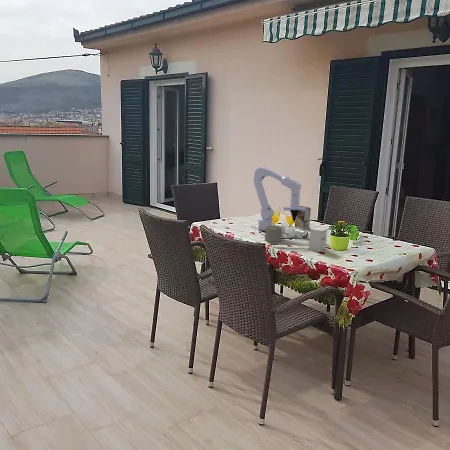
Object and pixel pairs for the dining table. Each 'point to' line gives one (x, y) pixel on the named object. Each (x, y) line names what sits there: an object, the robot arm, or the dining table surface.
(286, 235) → the console
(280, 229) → the coffee mug
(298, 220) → the coffee box
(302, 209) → the robot arm
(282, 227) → the slider back
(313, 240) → the supplement box
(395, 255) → the dining table surface
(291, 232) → the slider front
